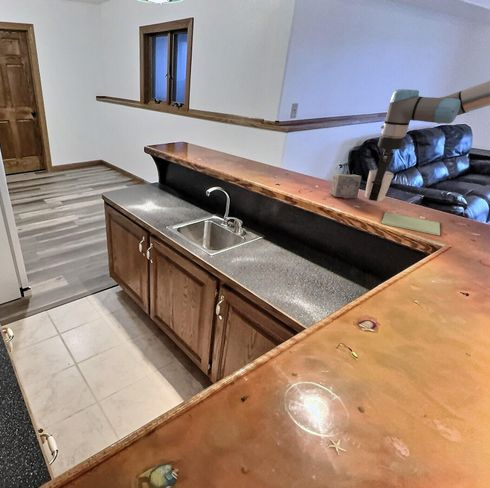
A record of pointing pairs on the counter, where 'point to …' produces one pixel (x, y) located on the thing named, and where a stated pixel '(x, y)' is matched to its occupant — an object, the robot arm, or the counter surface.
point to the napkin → (411, 223)
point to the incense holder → (345, 185)
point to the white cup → (384, 186)
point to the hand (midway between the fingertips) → (374, 197)
